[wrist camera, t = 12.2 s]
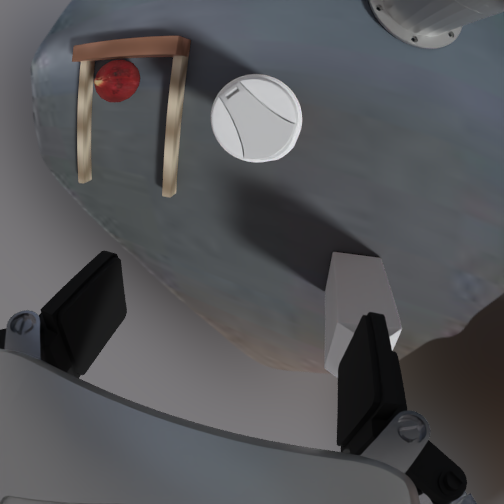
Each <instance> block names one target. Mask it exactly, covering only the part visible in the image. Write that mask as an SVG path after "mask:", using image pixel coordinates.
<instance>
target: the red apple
mask: <svg viewBox="0 0 504 504" xmlns="http://www.w3.org/2000/svg"><path fill="white" fill-rule="evenodd" d="M139 82H140V74H139V71H138V69H137V67H136V66H135V65H134V64H133V63H131V62H129V61H126V60H114V61H110V62H109V63H107V64H105V65H104V66H103V67H102V68H101V69H100V70H99V71H98V72H97V75H96V78H95V79H94V84H95V88H96V92H97V93H98V94H99V95H100V97H101V98H103V99H104V100H106V101H108V102H121V101H123V100H125V99H128V98H130V97H131V96H132V95H133V94H134V93H135V91H136V90H137V88H138V86H139Z"/></svg>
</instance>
